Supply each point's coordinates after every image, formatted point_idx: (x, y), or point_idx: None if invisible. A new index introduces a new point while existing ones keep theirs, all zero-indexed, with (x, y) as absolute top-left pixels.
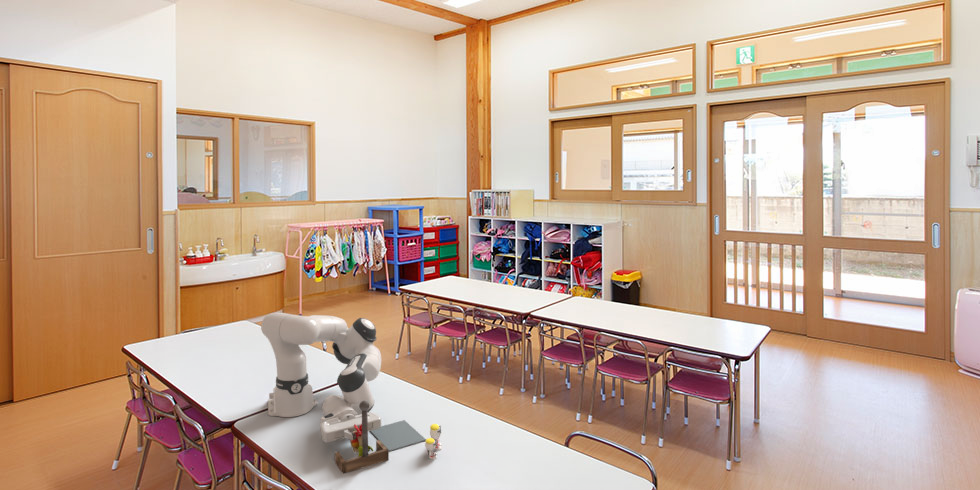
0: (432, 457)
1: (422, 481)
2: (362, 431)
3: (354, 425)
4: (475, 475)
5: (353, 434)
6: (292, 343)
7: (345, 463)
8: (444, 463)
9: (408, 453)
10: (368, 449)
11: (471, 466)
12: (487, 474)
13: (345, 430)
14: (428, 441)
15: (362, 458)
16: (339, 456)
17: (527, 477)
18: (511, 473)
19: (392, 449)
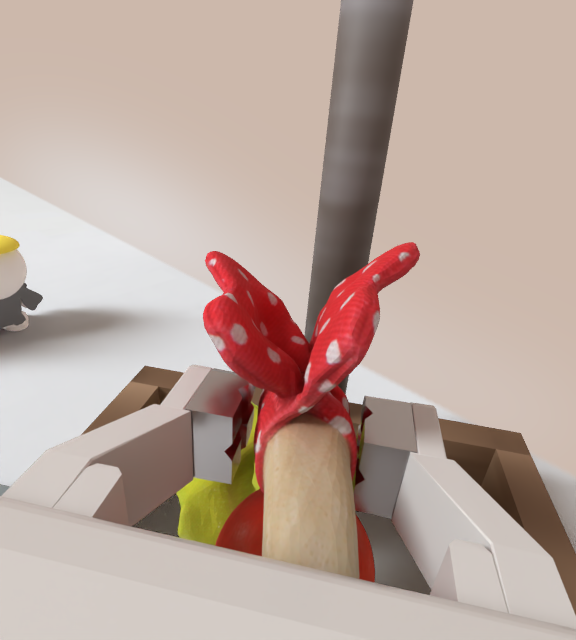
0: (24, 315)
1: (207, 285)
2: (381, 181)
3: (378, 307)
4: (84, 242)
5: (394, 404)
6: None
7: (495, 434)
8: (49, 290)
9: (10, 403)
10: (213, 497)
11: (33, 254)
12: (64, 234)
13: (526, 617)
14: (7, 239)
15: (351, 408)
16: (552, 540)
17: (38, 208)
18: (33, 219)
19: (2, 486)
